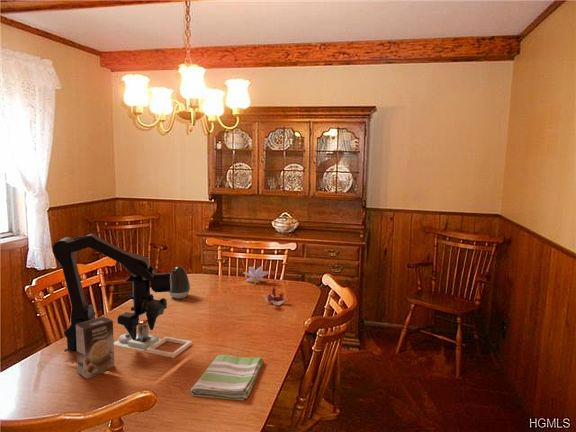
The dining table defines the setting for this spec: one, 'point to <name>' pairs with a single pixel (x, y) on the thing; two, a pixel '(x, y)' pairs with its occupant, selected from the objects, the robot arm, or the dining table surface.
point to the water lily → (255, 274)
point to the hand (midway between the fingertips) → (143, 334)
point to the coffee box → (94, 346)
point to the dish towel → (228, 377)
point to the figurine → (272, 297)
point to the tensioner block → (136, 342)
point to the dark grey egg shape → (179, 283)
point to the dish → (169, 354)
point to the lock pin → (143, 331)
